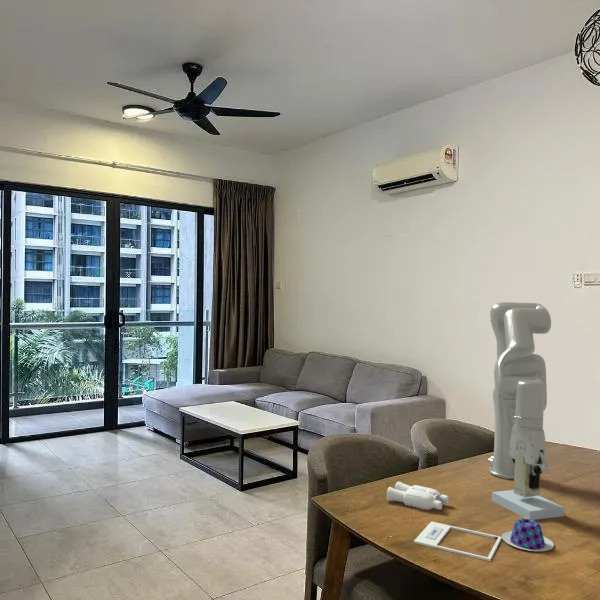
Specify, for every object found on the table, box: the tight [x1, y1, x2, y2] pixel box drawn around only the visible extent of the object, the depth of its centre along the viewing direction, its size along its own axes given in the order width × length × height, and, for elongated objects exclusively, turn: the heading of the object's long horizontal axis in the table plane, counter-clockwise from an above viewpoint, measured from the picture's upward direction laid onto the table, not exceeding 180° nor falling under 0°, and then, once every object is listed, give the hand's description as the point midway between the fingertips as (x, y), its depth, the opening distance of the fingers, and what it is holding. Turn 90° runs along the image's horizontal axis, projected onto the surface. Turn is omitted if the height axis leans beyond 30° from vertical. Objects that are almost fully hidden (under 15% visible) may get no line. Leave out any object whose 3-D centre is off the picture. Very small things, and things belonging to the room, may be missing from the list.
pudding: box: [501, 518, 555, 552], centre depth 141 cm, size 12×12×5 cm
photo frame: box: [413, 520, 503, 562], centre depth 140 cm, size 15×1×18 cm
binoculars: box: [386, 481, 450, 511], centre depth 166 cm, size 10×16×5 cm, turn 57°
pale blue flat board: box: [491, 489, 565, 521], centre depth 165 cm, size 16×12×3 cm
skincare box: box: [513, 452, 541, 498], centre depth 165 cm, size 6×4×12 cm
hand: (527, 484), depth 165 cm, fingers closed on skincare box, 4 cm apart
